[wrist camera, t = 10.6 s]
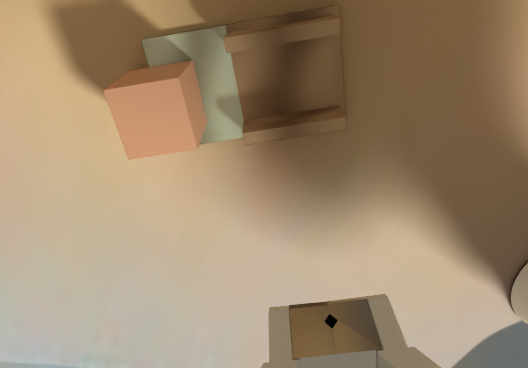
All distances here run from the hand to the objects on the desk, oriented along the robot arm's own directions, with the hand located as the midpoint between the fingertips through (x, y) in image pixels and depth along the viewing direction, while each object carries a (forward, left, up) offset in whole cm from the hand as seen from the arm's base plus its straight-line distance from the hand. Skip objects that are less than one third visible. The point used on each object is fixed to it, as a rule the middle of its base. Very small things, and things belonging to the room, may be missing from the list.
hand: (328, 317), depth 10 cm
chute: (+2, -1, -24) cm, 24 cm away
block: (+9, -1, -24) cm, 25 cm away
